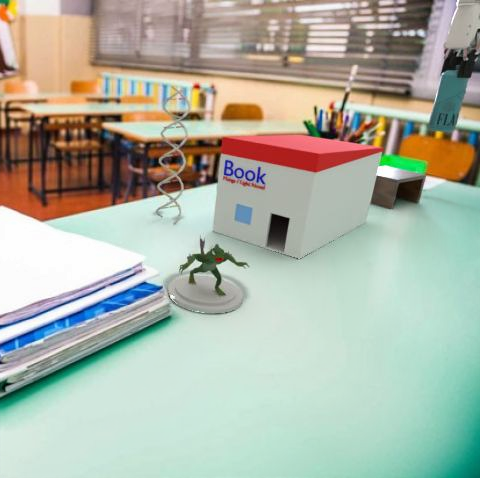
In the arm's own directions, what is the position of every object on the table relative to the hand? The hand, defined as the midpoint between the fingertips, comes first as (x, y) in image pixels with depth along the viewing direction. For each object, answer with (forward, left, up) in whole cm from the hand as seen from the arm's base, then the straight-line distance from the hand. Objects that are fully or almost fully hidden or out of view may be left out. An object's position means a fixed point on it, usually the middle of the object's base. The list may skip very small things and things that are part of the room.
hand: (455, 76), depth 126 cm
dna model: (+18, +76, -34) cm, 85 cm away
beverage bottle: (0, 0, -15) cm, 15 cm away
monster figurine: (-15, +93, -34) cm, 100 cm away
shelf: (+6, +9, -34) cm, 35 cm away
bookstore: (+2, +52, -34) cm, 62 cm away
